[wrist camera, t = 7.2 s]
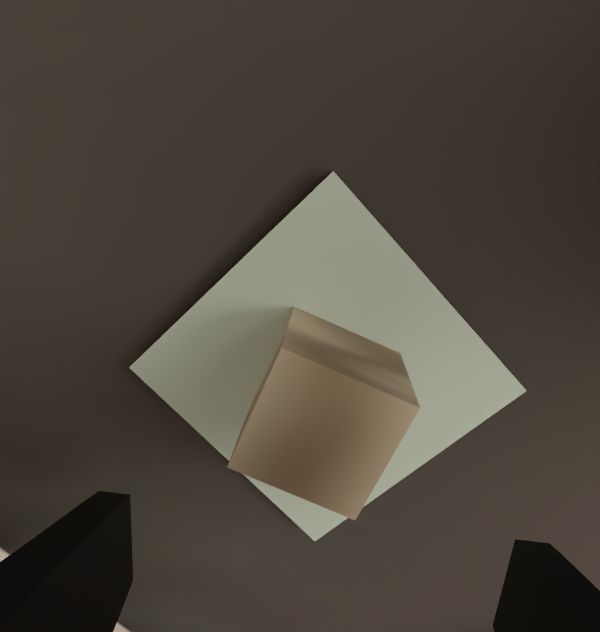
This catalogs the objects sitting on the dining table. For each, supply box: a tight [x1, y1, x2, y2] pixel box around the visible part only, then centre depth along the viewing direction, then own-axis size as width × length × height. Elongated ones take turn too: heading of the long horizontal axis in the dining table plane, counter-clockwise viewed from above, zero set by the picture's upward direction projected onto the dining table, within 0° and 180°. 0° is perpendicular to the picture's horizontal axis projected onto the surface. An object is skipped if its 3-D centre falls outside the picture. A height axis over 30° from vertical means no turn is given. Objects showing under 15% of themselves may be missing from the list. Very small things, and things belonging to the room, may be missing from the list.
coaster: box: [129, 171, 526, 541], centre depth 17 cm, size 10×10×1 cm
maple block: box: [227, 307, 420, 520], centre depth 15 cm, size 4×4×4 cm
